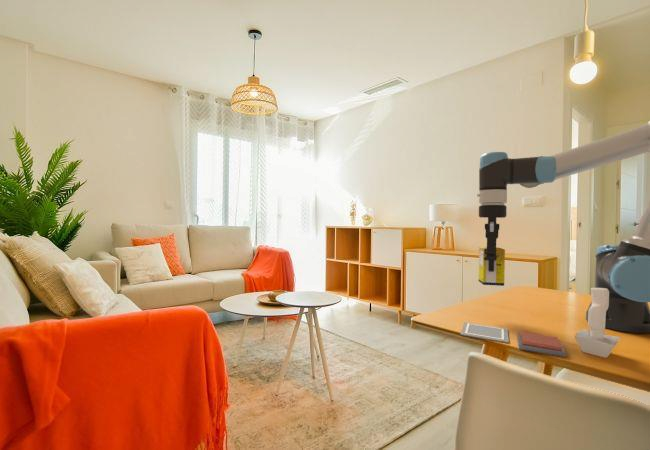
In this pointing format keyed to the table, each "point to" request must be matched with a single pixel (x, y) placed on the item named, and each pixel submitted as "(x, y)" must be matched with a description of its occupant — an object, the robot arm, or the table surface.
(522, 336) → the ink pad
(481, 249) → the supplement box
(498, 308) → the table surface
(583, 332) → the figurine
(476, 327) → the marked card
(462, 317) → the table surface
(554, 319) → the table surface
